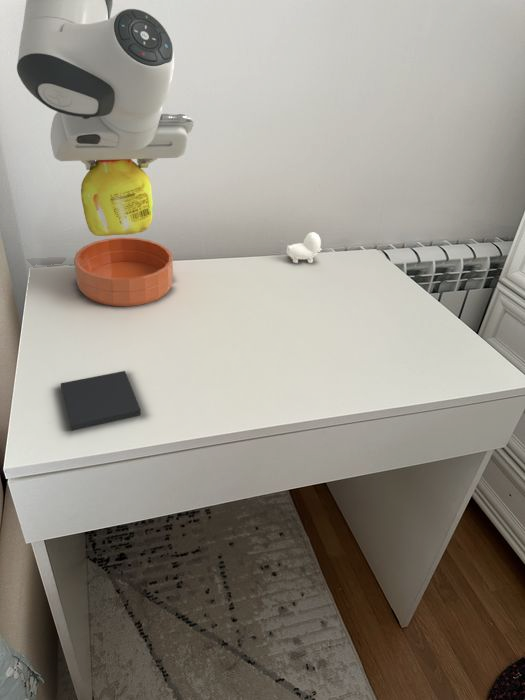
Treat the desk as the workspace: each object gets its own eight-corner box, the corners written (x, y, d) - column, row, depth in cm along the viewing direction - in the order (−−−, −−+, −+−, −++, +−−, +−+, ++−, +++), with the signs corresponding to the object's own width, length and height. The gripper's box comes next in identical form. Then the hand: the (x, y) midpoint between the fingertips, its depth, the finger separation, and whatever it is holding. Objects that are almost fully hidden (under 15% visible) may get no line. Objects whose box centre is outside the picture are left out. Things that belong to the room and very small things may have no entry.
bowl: (87, 313, 91) (83, 285, 88) (71, 268, 104) (67, 242, 101) (184, 299, 98) (184, 272, 95) (158, 258, 111) (157, 233, 107)
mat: (71, 430, 69) (70, 425, 68) (61, 388, 75) (60, 383, 75) (140, 415, 72) (140, 409, 72) (125, 376, 79) (125, 370, 78)
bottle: (89, 243, 90) (74, 117, 79) (82, 229, 95) (67, 108, 83) (158, 236, 95) (153, 115, 83) (148, 223, 99) (143, 107, 88)
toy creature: (323, 264, 115) (327, 237, 111) (287, 265, 113) (291, 237, 110) (316, 255, 119) (321, 228, 115) (282, 255, 117) (285, 228, 113)
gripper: (192, 96, 80) (172, 146, 93) (47, 94, 72) (48, 148, 85) (201, 135, 80) (180, 179, 92) (56, 137, 72) (55, 185, 84)
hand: (116, 164), depth 89 cm, fingers closed on bottle, 7 cm apart
